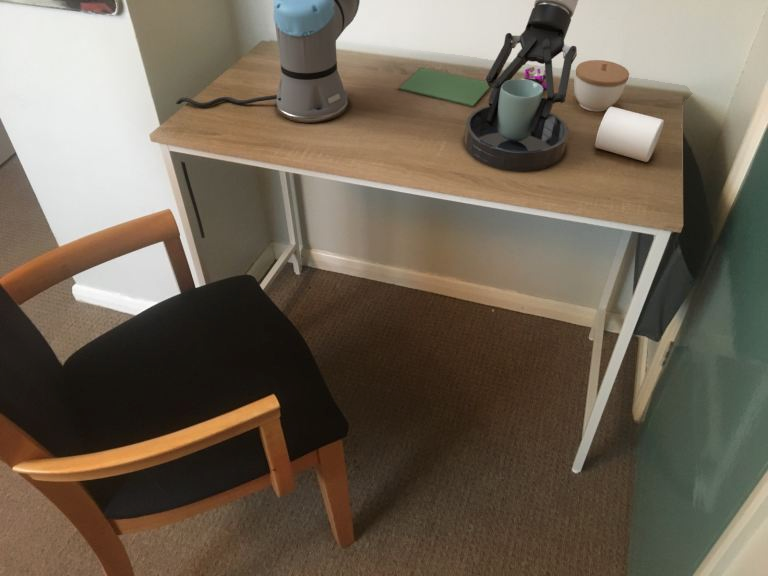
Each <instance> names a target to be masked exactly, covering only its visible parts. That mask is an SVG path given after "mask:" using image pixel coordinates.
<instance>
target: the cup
mask: <svg viewBox="0 0 768 576" xmlns="http://www.w3.org/2000/svg"><path fill="white" fill-rule="evenodd" d="M542 98H544V88H543V87H542V86H541V85H540V84H539V83H537V82H534V81H531V80H527V79H525V78H511V80H508V81H506V82H504V83H503V84H502V86H501V89H500V95H499V102H498V109H497V129H498V132H499V134H500V135H501V136H502V137H503V138H505V139H507V140H510V141H522V140H525V139H527V138H528V137H529V136H530V135H531V133H530V130H531V127H532V124H533V122H534V119H535V116H536V113H537V110H538V108H539V105H540V102H541V99H542Z"/></svg>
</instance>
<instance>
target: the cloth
mask: <svg viewBox="0 0 768 576" xmlns="http://www.w3.org/2000/svg"><path fill="white" fill-rule="evenodd" d="M491 88H492V87H491V86H489V85H488V83H487V81H484V80H479V79H476V78H470V77H467V76H461V75H456V74H452V73H447V72H443V71H438V70H434V69H430V68H424V67H421V68H420V69H419V70H417V71H416V72H415V73H414V74H413V75H411V76H410V78H409V79H407V80H406V81H405V82H404V83H402V84H401V86H400V87H399V88H398V90H400V91H404V92H409V93H413V94H417V95H421V96H425V97H430V98H434V99H439V100H441V101H446V102H452V103H455V104H459V105H464V106H467V107H475V106H476V104H477V103H478V102H479V101H480V100H481V99H482V98H483V96H484V95H485V94H487V92H488V90H490V89H491Z"/></svg>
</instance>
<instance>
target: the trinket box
mask: <svg viewBox="0 0 768 576" xmlns="http://www.w3.org/2000/svg"><path fill="white" fill-rule="evenodd" d="M629 77H630V72H629V70H628V69H627V68H626V67H625V66H623V65H621V64H619V63H616V62H614V61H609V60H604V59H603V60H601V59H592V60H590V59H589V60H586V61H582V62H580V63H579V64H578V65H577V66H576V67H575V75H574V81H573V93H574V96H575V99H576V100H577V102H578V103H579V106H580V107H581V108H582V109H584V110H586V111H590V112H598V113H599V112H604V111H607V110H608V109H609V108H610V107H613V105H615V104H616V103H617V102H618V101H619V99H620V98H621V97H622V95H623V93H624V91H625V89H626V86H627V82H628V80H629Z"/></svg>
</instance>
